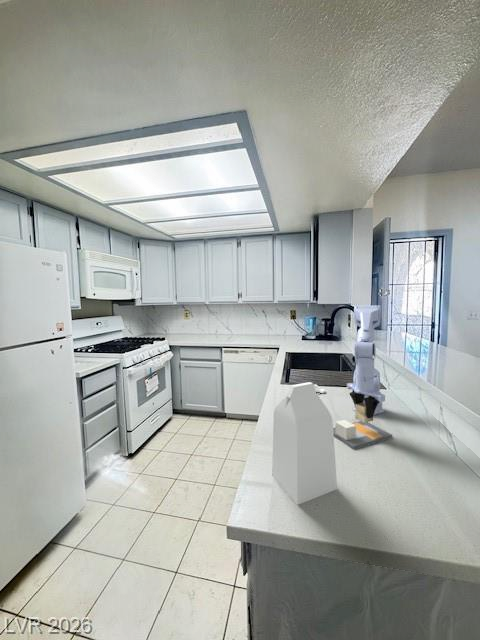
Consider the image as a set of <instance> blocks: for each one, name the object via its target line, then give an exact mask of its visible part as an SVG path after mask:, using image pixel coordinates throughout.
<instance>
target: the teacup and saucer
mask: <svg viewBox="0 0 480 640" xmlns="http://www.w3.org/2000/svg"><path fill="white" fill-rule="evenodd" d="M313 385H314V387H315V390H316V392H317V393H318V392H320V393H322V394H324V393H325V392H326V390H325V388H320V389H318V385H317V384H314V383H313ZM317 390H318V391H317ZM320 393H319V394H320Z"/></svg>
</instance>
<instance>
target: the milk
mask: <svg viewBox="0 0 480 640" xmlns="http://www.w3.org/2000/svg"><path fill="white" fill-rule="evenodd" d="M313 384H314V382H311V381H308V382H302V383H297V384H296V383H295V384H292V385H290V387H289V390H288V392H287V395H286V397H285V398H284V399H282V401H280V403H278V404H277V405H276V406H275V408H274V411H273V429H272V432H273V433H272V463H271V464H272V466H271V476H272V477H273V479H274V480H275V481H276V482H277V483H278V484H279V486H280V487H281V488H282V489H283V491H284V492H286V494H287V495H288V496H289V497H290V499H291V500H292V501H293V502H294V503H295V504H296V505H297V506H299V505H301V504H304V503H305V502H308V501H312V500H314V499H316V498H318V497H321V496H323V495H326V494H328V493H331V492H333V491H336V490H338V481H337V465H336V454H335V453H336V451H335V437H334V433H333V428H334V422H333V421H334V420H333V417H332V414H331V413H330V411H329V408H327V406H326V405H325V403H324V402H323V400H322V399H321V398H320V396H319V395H318V394H319V393H316V390H315V387H314V385H313Z"/></svg>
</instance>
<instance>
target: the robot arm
mask: <svg viewBox="0 0 480 640" xmlns="http://www.w3.org/2000/svg"><path fill="white" fill-rule="evenodd" d="M381 314H382V306H381V305H380V304H378V305H357V304H356V305H354V308H353V317H354V323H355V326H356V327H359V329H358V330H357V333H356V334H357V335H356V342H355V343H354V345H353V347H354V348H353V349H354V352H353V354H354V355H353V356H354V359H355V360H354V363H355V370H354V371H353V379H352V380H353V381H352V382H353V383H352V382H349V383H346V389H347V390H352V391H351V392H349V396H350V397H351V399H352V402H353V404H354V406H355V404H359V403H363V402H364V403H365V405H366V414H367V418H373V419H374V416H375V415H379V414H383V413H385V411H384V410H383V402H386V395H385V394H383V393H382V392H381V391H380V390H381V377H380V376H381V374H380V371H379V370H378V369H376V368H375V359H376V357H377V349H376V348H377V346H376V345H377V344H376V341H375V339H376V338H375V337H376V335H375V334H376V333H375V328H377V327H380V324H381V318H382V317H381V316H382V315H381ZM352 411H355V407H352Z"/></svg>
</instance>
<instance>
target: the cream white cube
mask: <svg viewBox="0 0 480 640" xmlns="http://www.w3.org/2000/svg"><path fill="white" fill-rule="evenodd" d="M352 423H353V422H350V421H349V420H346V419H343V420H337V421H335V427H336V434H338V435H339V436H341V437H342V438H344V439H345V440H348V439H352V438H355V437H356V426H355V425H354V424H352Z"/></svg>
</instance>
